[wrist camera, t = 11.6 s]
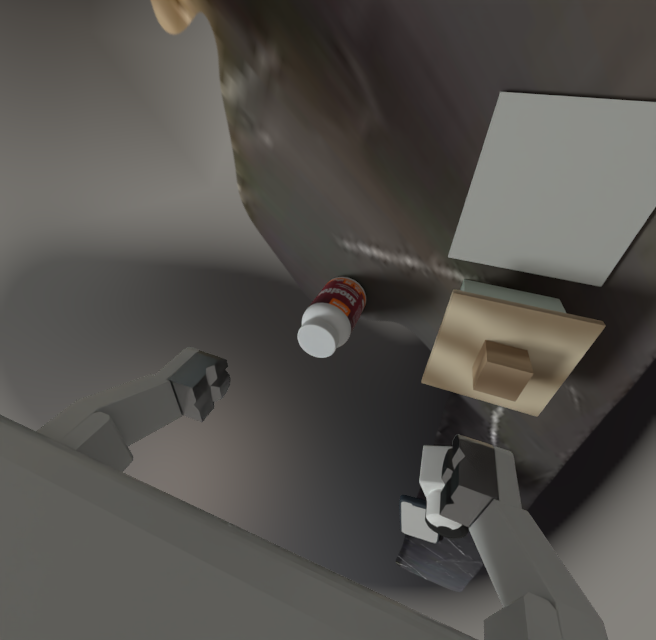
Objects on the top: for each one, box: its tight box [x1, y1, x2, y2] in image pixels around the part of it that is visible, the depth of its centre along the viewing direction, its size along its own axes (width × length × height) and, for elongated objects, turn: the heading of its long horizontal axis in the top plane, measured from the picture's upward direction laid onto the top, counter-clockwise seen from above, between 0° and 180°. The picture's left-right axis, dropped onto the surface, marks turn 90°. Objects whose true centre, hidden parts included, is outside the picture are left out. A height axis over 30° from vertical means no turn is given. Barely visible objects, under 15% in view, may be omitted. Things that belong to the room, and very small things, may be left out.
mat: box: [448, 92, 656, 287], centre depth 29 cm, size 15×15×1 cm
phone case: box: [399, 495, 439, 543], centre depth 68 cm, size 9×2×16 cm
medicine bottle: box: [419, 445, 468, 538], centre depth 50 cm, size 7×7×12 cm
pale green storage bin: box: [460, 279, 566, 313], centre depth 35 cm, size 10×10×6 cm
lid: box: [422, 289, 606, 417], centre depth 31 cm, size 13×13×4 cm
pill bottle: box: [298, 277, 366, 358], centre depth 39 cm, size 6×6×11 cm
